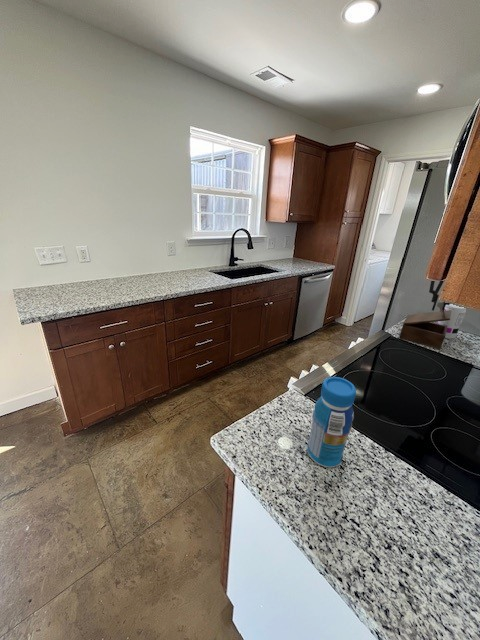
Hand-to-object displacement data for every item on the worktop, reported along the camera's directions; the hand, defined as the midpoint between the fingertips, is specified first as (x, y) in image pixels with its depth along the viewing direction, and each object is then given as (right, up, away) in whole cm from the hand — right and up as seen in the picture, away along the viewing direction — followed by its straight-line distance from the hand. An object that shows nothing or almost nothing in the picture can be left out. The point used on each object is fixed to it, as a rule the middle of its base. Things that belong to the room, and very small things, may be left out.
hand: (437, 310), depth 113 cm
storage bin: (-2, -13, +7) cm, 15 cm away
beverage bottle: (-64, -36, -50) cm, 89 cm away
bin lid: (-2, -3, +3) cm, 5 cm away
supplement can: (+12, -12, +12) cm, 20 cm away
